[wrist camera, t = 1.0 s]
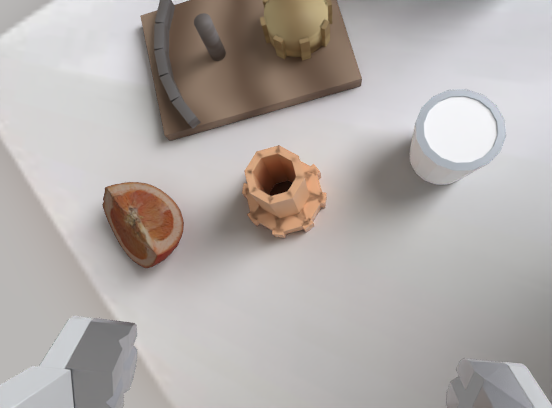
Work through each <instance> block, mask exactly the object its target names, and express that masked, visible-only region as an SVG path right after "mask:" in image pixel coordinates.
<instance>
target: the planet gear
mask: <svg viewBox="0 0 552 408" xmlns="http://www.w3.org/2000/svg"><path fill="white" fill-rule="evenodd" d="M245 175H246V179H247V184H246V183H244V185H243V191H242V194H243V195H244V196H245V197H246V198H247V200H248V205H249V209H250V212H249V213H248V214H247V215H248V216H249V218H250V219H251V221H252V222H253V223H254V224H255V225H256V226H258V225H259V224H261V225H263V226H265V227H266V228H268V229H270V230H272V234H273V235H274V236H275V237H281V238H285V237H286V234H288V233H292V232H296V231H300V230H303V229H304V231H305V232H307V231H309V230H310V229H311V228H313V227H314V223H313V221H314V219H315V217H316V215H317V214H318V212H319V210H320V209H321V207H323V208H325V206H326V198H327V197H326V193H323V192H322V190H321V187H320V183H319V179H320V178H321V174H320V171H319V170H318V169H317V167H316V166H315V165H314V164H313V165H312V166H309V165H307V164H305V163H303V162H301V161H300V159H299V156H298V155H296V154H294V153H292V152H290V151H288V150H286V149H285V148H283V147H281V146H279V145H278V146H275V147H271V148H268V149H264V150H261V151H257V152H256V153H255V155H254V157H253V158H252V160H251V161H250V163H249V165H248V166H247V168H246V170H245ZM285 181H290V182H292V185H291V187H290V188H289V190H288V192H284V193H281V194H277V195H273V196H270V195H269V194H270V192H271V190H272V189H273V187H274V185H275V184H278V183H281V182H285Z"/></svg>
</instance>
